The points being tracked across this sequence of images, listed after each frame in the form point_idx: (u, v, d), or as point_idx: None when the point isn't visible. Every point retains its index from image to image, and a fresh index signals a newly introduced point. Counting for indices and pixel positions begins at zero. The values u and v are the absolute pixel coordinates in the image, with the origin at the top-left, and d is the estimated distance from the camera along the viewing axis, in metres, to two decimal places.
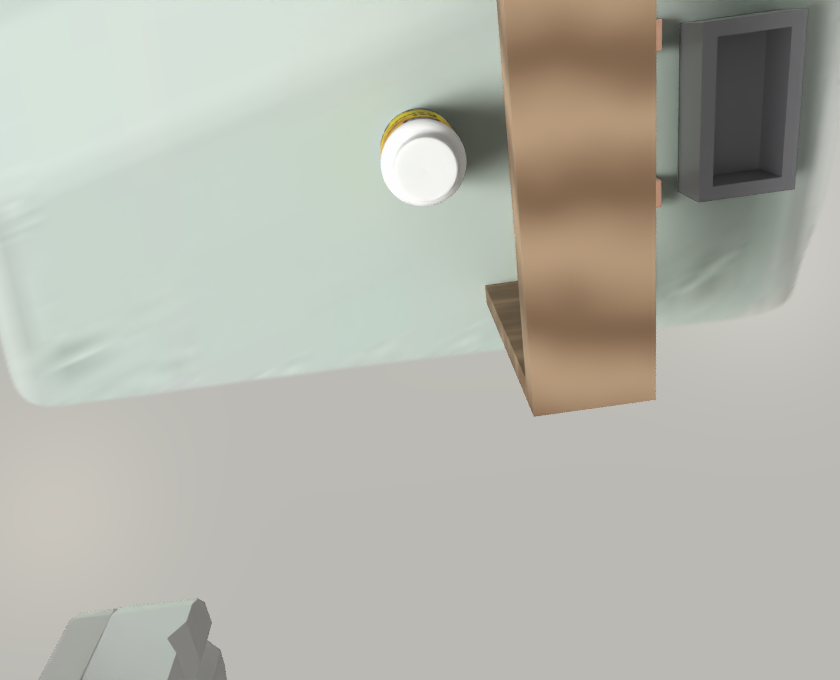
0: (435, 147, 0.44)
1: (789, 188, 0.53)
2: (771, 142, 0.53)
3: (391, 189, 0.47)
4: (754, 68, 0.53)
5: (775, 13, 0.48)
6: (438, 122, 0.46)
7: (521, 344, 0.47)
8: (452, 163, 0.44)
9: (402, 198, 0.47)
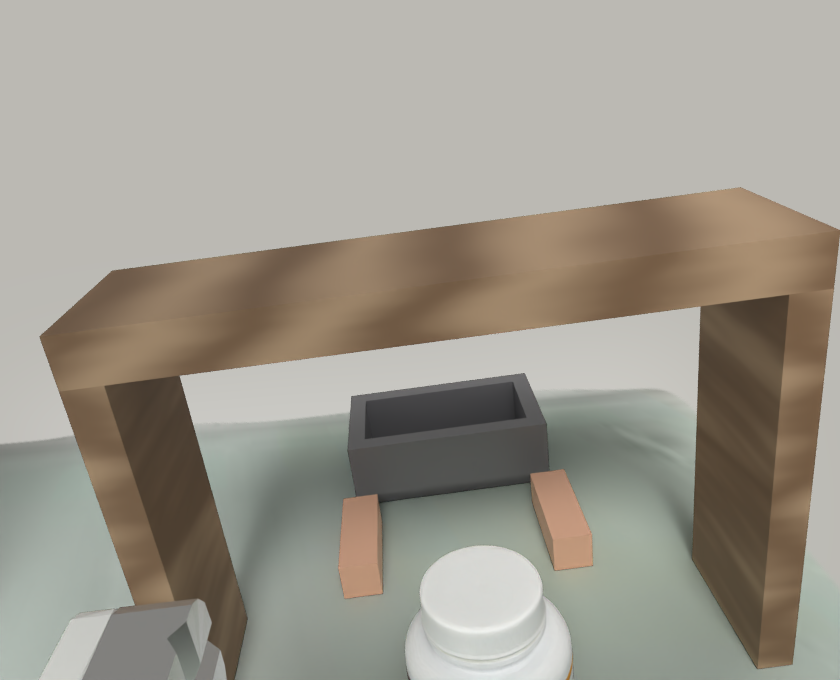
0: (438, 573, 0.24)
1: (524, 375, 0.50)
2: (482, 408, 0.50)
3: None
4: None
5: (351, 411, 0.48)
6: None
7: (769, 409, 0.27)
8: (468, 551, 0.25)
9: (555, 666, 0.23)
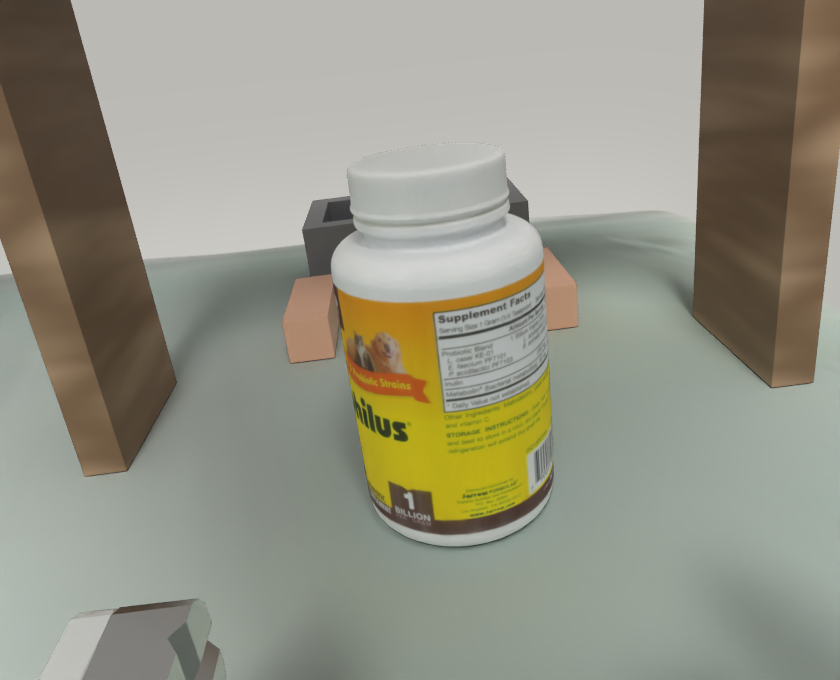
0: (373, 157, 0.19)
1: None
2: None
3: (497, 261, 0.17)
4: None
5: (310, 209, 0.43)
6: None
7: (792, 11, 0.22)
8: (414, 147, 0.20)
9: (520, 247, 0.17)
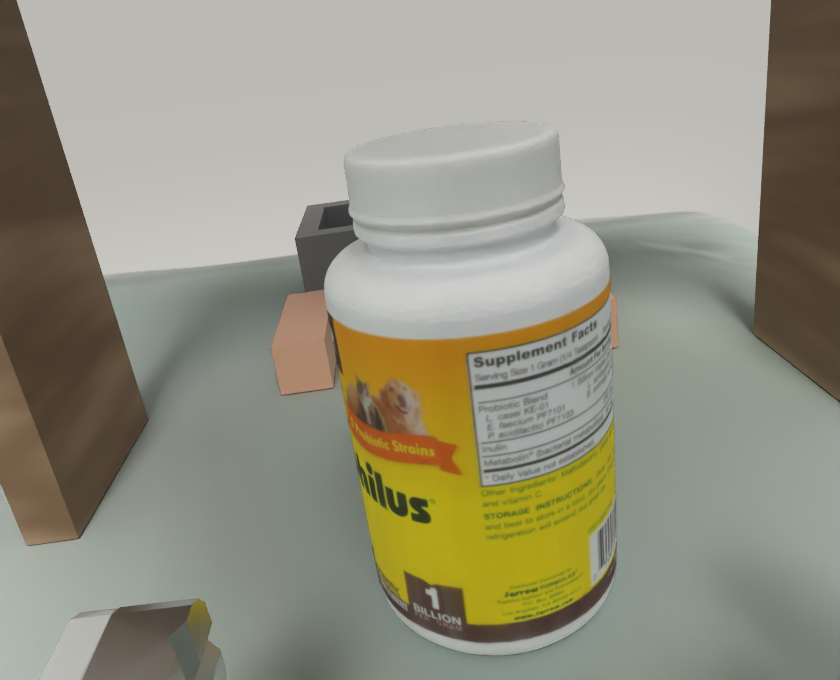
0: (379, 142, 0.14)
1: None
2: None
3: (555, 280, 0.12)
4: None
5: (305, 215, 0.38)
6: None
7: None
8: (432, 129, 0.15)
9: (584, 260, 0.13)
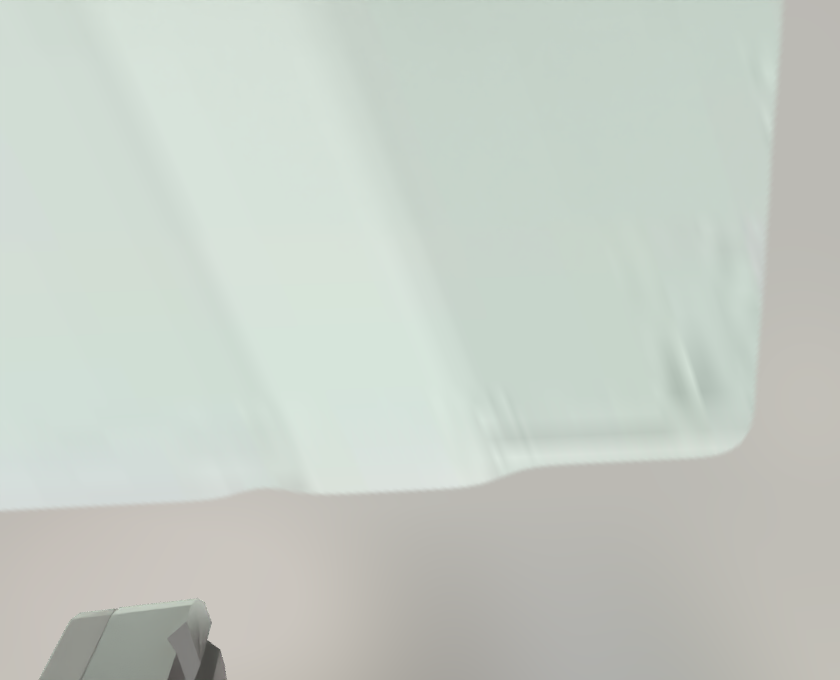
0: None
1: None
2: None
3: None
4: None
5: None
6: None
7: None
8: None
9: None
